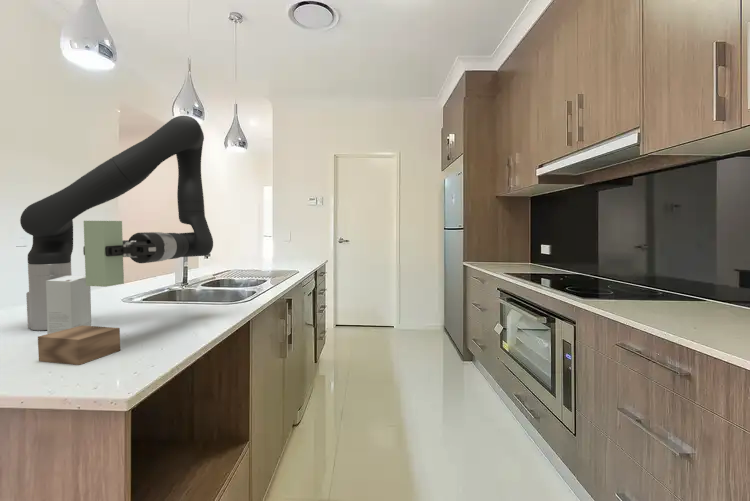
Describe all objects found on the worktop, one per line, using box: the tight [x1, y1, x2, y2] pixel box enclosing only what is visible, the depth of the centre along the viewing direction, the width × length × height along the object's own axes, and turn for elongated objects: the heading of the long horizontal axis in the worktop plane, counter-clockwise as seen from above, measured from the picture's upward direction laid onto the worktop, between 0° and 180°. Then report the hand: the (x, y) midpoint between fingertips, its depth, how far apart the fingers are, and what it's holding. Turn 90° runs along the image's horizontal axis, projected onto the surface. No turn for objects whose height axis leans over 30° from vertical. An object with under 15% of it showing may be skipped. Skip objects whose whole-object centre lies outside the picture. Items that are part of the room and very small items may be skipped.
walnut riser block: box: [37, 325, 121, 366], centre depth 90 cm, size 10×10×5 cm
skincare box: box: [46, 275, 92, 334], centre depth 104 cm, size 8×6×15 cm
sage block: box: [83, 220, 125, 288], centre depth 94 cm, size 5×5×14 cm
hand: (96, 251), depth 92 cm, fingers closed on sage block, 5 cm apart
